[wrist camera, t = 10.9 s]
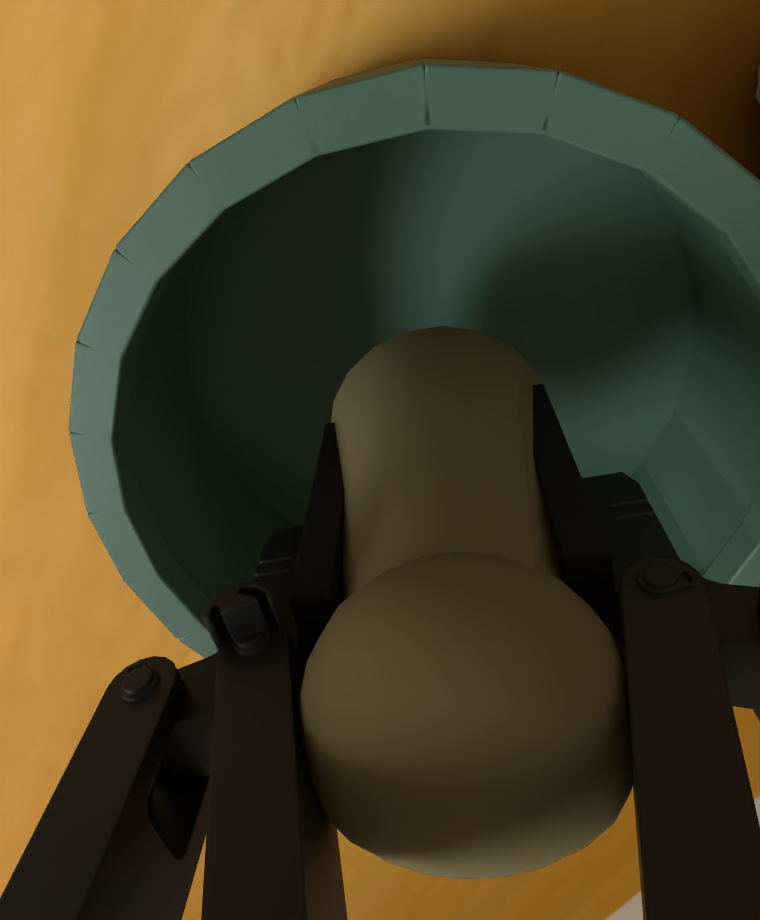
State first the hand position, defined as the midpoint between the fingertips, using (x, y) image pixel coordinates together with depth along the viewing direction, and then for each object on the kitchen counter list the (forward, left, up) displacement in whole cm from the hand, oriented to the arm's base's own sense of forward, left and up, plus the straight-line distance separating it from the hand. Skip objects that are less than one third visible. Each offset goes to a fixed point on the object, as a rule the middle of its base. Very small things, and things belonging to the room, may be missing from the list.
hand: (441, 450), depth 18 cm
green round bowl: (0, 0, -6) cm, 6 cm away
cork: (0, 0, -1) cm, 1 cm away
